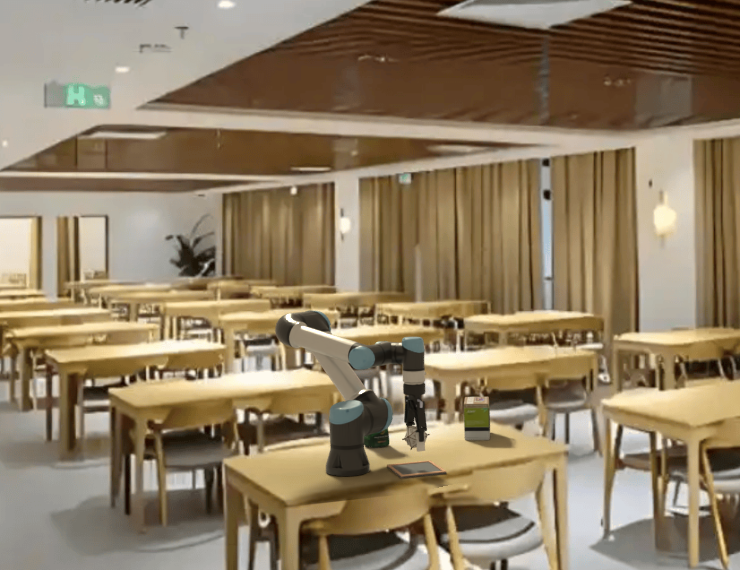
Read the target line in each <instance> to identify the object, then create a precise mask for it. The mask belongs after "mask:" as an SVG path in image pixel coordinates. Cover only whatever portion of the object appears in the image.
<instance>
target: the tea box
mask: <svg viewBox="0 0 740 570" xmlns="http://www.w3.org/2000/svg"><path fill="white" fill-rule="evenodd" d="M490 411H491V410H490V397H489V396H464V402H463V427H464V430H463V431H464V432H463V433H464V440H465V441H490V438H491V415H490V414H491V412H490Z"/></svg>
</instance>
